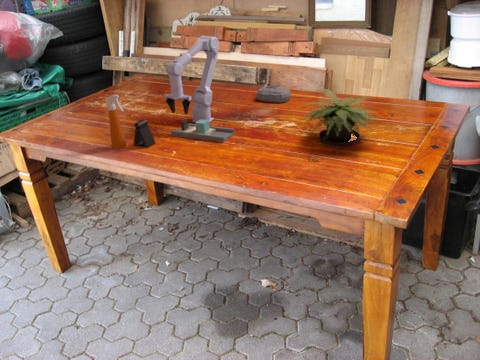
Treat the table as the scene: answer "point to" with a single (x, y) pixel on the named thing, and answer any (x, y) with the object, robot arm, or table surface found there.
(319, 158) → the table surface
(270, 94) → the soft grey pack
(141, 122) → the phone stand
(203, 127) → the block
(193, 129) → the sliding plate with handle
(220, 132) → the channel
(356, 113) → the fern plant
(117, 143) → the spray bottle
